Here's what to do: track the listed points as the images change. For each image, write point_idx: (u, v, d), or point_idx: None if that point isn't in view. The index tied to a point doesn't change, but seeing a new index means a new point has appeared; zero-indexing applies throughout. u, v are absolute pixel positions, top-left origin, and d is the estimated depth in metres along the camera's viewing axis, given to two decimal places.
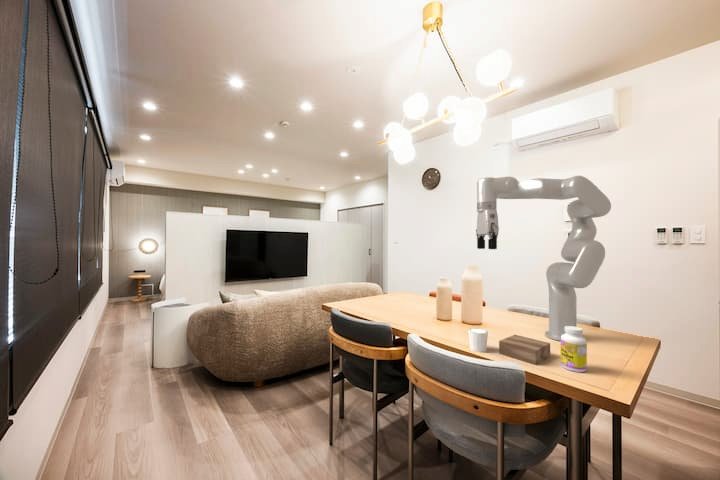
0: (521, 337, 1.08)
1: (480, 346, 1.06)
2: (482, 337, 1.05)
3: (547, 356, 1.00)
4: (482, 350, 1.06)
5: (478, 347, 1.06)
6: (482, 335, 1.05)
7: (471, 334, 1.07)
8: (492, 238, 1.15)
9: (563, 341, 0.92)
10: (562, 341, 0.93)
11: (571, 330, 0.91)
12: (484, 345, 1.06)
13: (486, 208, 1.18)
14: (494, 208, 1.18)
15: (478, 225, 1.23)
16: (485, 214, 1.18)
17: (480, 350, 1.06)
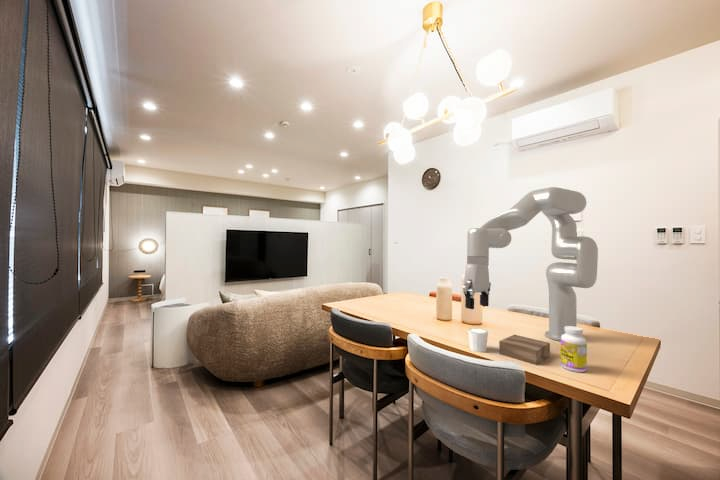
0: (521, 337, 1.08)
1: (480, 346, 1.06)
2: (482, 337, 1.05)
3: (547, 356, 1.01)
4: (482, 350, 1.06)
5: (478, 347, 1.06)
6: (482, 335, 1.05)
7: (471, 334, 1.07)
8: None
9: (563, 341, 0.92)
10: (562, 341, 0.93)
11: (571, 330, 0.91)
12: (484, 345, 1.06)
13: None
14: None
15: (479, 281, 1.05)
16: (487, 269, 1.09)
17: (480, 350, 1.06)
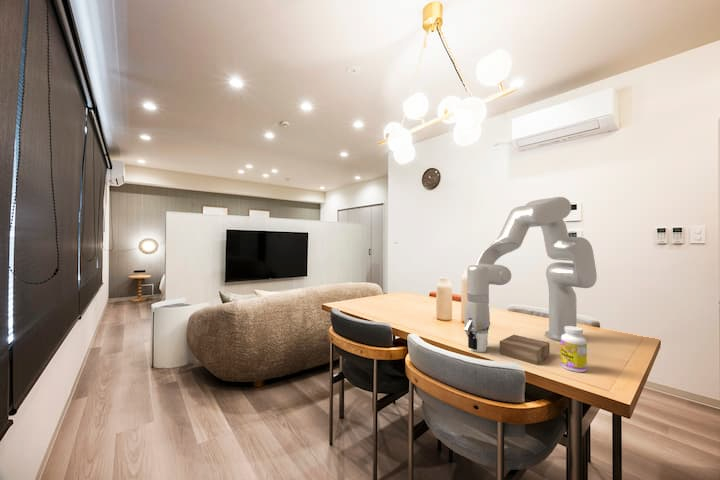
0: (520, 337, 1.08)
1: (480, 346, 1.06)
2: (482, 337, 1.05)
3: (547, 356, 1.01)
4: (482, 350, 1.06)
5: (478, 347, 1.06)
6: (482, 335, 1.05)
7: None
8: None
9: (563, 341, 0.92)
10: (562, 341, 0.93)
11: (571, 330, 0.91)
12: (484, 345, 1.06)
13: None
14: None
15: (480, 320, 1.05)
16: (488, 306, 1.09)
17: (480, 350, 1.06)
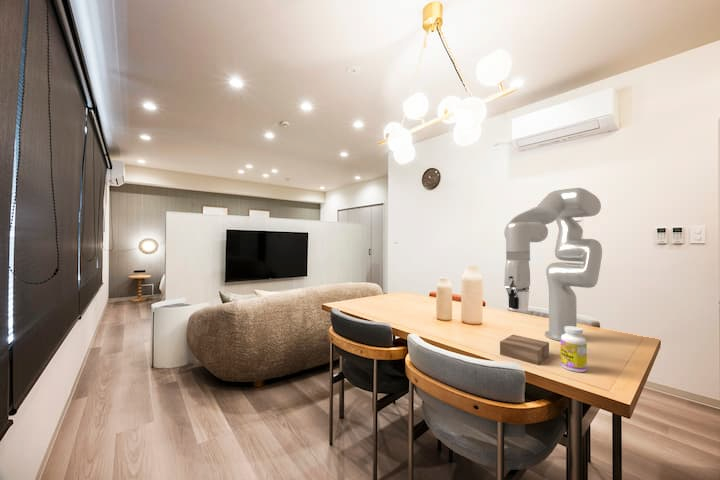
0: (520, 337, 1.08)
1: (521, 305, 1.01)
2: (524, 295, 1.01)
3: (546, 355, 1.01)
4: (524, 309, 1.01)
5: (519, 306, 1.01)
6: (524, 293, 1.01)
7: None
8: None
9: (563, 341, 0.92)
10: (562, 341, 0.93)
11: (571, 330, 0.91)
12: (526, 304, 1.01)
13: None
14: None
15: (521, 278, 1.01)
16: (528, 265, 1.04)
17: (522, 309, 1.01)
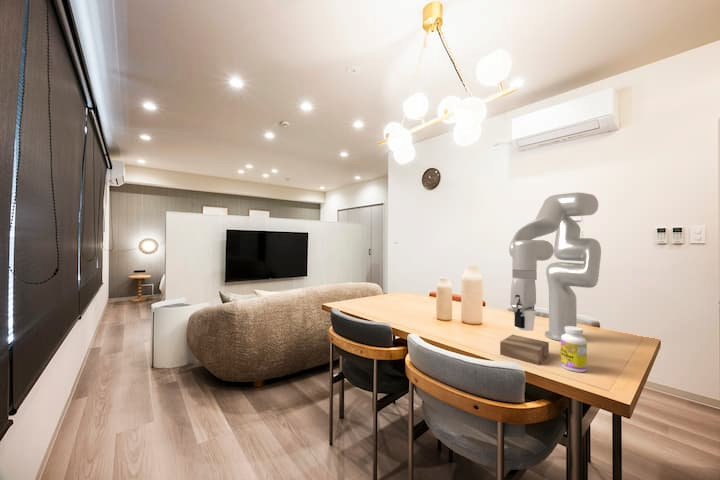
0: (519, 337, 1.08)
1: (527, 324, 1.00)
2: (530, 315, 1.00)
3: (546, 355, 1.01)
4: (530, 328, 1.00)
5: (526, 325, 1.00)
6: (530, 312, 1.00)
7: None
8: None
9: (563, 341, 0.92)
10: (562, 341, 0.93)
11: (571, 330, 0.91)
12: (532, 323, 1.00)
13: None
14: None
15: (528, 297, 1.00)
16: None
17: (528, 328, 1.00)
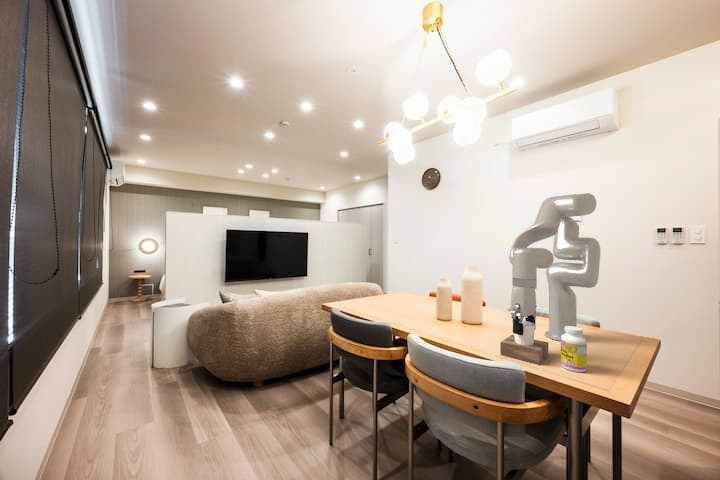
0: None
1: (527, 339, 1.00)
2: (530, 329, 1.00)
3: (546, 355, 1.01)
4: (530, 343, 1.00)
5: (526, 340, 1.00)
6: (530, 327, 0.99)
7: None
8: None
9: (563, 341, 0.92)
10: (562, 341, 0.93)
11: (571, 330, 0.91)
12: (532, 338, 1.00)
13: None
14: None
15: (528, 305, 1.00)
16: None
17: (528, 343, 1.00)
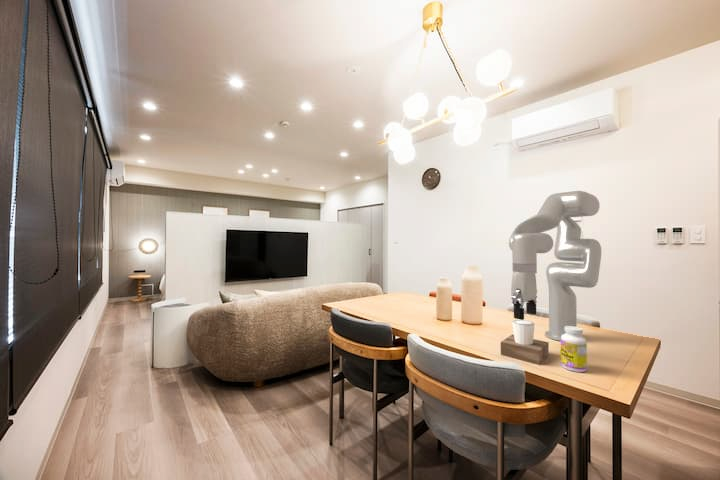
0: None
1: (527, 338, 1.00)
2: (529, 329, 1.00)
3: (546, 355, 1.02)
4: (529, 343, 1.00)
5: (525, 339, 1.00)
6: (529, 327, 1.00)
7: (517, 326, 1.02)
8: None
9: (563, 341, 0.92)
10: (562, 341, 0.93)
11: (571, 330, 0.91)
12: (531, 337, 1.01)
13: None
14: None
15: (528, 290, 1.00)
16: (535, 276, 1.04)
17: (527, 343, 1.00)
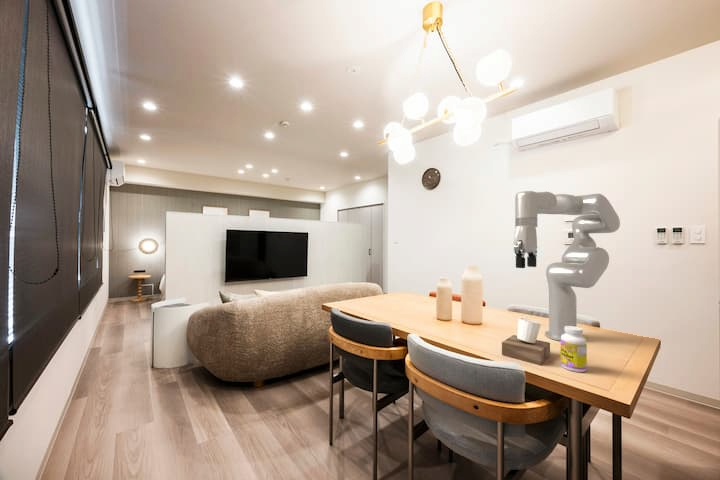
0: None
1: (535, 337, 1.01)
2: (539, 328, 1.01)
3: (548, 356, 1.01)
4: (535, 341, 1.01)
5: (534, 338, 1.01)
6: (539, 326, 1.01)
7: (529, 324, 1.01)
8: None
9: (563, 341, 0.92)
10: (562, 341, 0.93)
11: (571, 330, 0.91)
12: (536, 336, 1.02)
13: None
14: None
15: (529, 241, 1.10)
16: (535, 231, 1.14)
17: (534, 341, 1.01)
